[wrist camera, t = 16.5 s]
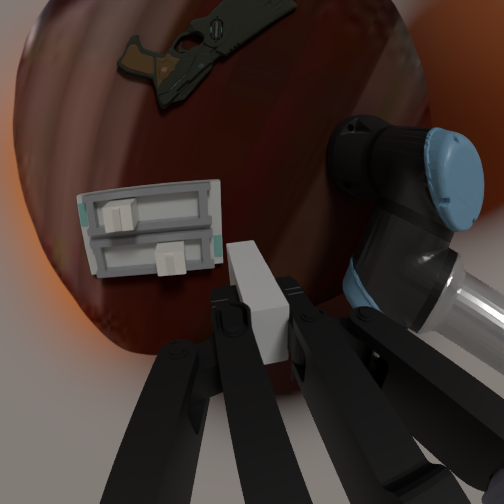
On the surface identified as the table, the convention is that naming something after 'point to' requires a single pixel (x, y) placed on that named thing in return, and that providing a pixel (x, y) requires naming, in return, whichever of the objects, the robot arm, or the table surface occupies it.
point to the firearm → (201, 46)
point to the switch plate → (154, 227)
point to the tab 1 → (121, 214)
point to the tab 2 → (170, 258)
